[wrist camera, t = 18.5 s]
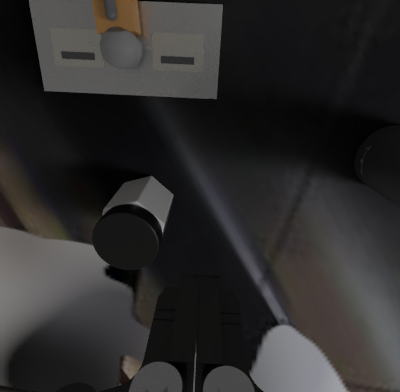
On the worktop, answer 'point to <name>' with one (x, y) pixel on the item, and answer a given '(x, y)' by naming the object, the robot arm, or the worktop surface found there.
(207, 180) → the worktop surface
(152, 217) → the jar
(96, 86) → the plate
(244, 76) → the worktop surface
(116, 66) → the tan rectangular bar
